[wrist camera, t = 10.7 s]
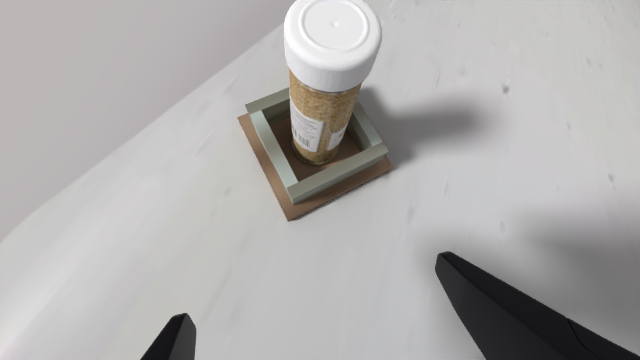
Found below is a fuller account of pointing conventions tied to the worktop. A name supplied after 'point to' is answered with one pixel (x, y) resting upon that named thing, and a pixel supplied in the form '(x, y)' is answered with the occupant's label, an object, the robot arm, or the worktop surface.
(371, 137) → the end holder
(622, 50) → the worktop surface
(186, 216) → the worktop surface
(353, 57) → the sprinkles bottle
